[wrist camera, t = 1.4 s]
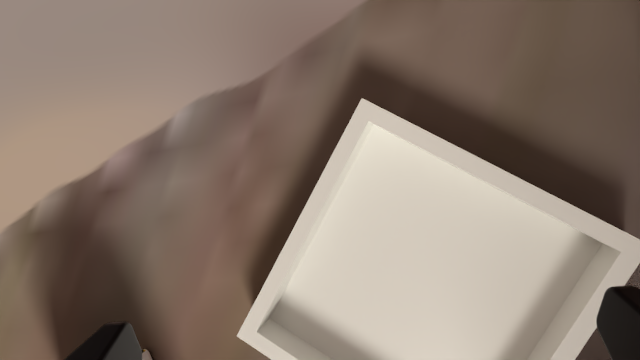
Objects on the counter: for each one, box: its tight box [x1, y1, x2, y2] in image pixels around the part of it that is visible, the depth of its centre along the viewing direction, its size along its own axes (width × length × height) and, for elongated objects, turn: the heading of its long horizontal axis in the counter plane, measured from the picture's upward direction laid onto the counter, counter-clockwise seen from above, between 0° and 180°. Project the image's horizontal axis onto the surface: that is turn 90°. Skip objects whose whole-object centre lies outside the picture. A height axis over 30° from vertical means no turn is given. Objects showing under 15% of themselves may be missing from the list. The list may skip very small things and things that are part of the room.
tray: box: [237, 98, 640, 360], centre depth 21 cm, size 14×14×2 cm
